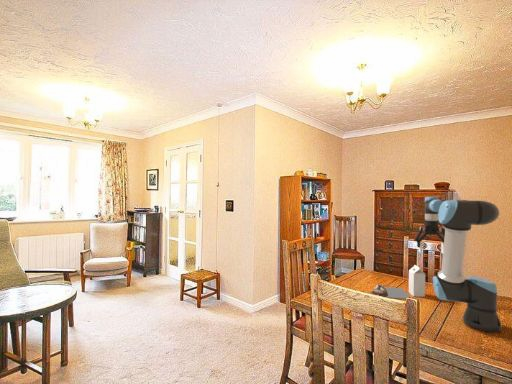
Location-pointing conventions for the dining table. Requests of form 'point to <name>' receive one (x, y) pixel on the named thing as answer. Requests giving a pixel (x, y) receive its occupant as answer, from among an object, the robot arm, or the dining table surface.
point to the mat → (397, 293)
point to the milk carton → (416, 282)
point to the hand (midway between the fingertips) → (431, 252)
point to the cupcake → (380, 291)
